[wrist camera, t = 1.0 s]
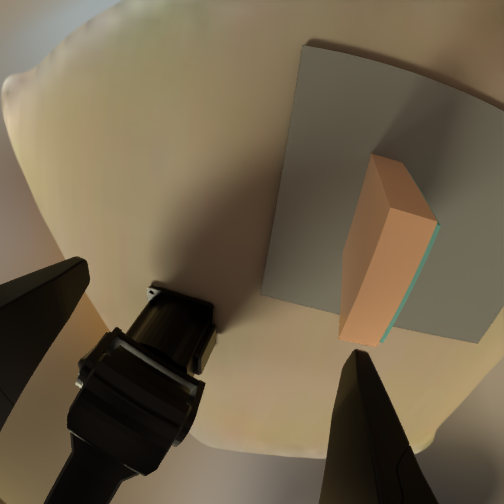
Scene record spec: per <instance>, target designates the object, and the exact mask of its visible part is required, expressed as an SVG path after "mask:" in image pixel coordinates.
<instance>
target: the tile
mask: <svg viewBox="0 0 504 504" xmlns="http://www.w3.org/2000/svg"><path fill="white" fill-rule="evenodd" d="M440 227H441V225H440V223H439V221H438V220H437V218H436V216H435V214H434V212H433V211H432V209H431V207H430V205H429V204H428V202H427V200H426V199H425V197H424V195H423V193H422V192H421V190H420V189H419V187H418V185H417V184H416V182H415V180H414V179H413V177H412V176H411V174H410V173H409V171H408V169H407V168H405V166H404V164H403V163H402V162H399V161H396V160H392V159H389V158H386V157H382V156H379V155H375V154H371V155H370V159H369V163H368V167H367V171H366V175H365V178H364V182H363V186H362V189H361V193H360V196H359V200H358V204H357V207H356V210H355V214H354V217H353V221H352V224H351V227H350V230H349V234H348V237H347V240H346V243H345V246H344V250H343V260H342V286H341V305H340V321H339V334H338V339H340V340H345V341H349V342H354V343H358V344H363V345H368V346H373V347H377V345H378V343H379V342H382V343H383V342H384V340H385V339H386V337H387V335H388V333H389V332H390V330H391V328H392V326H393V325H394V323H395V321H396V319H397V317H398V315H399V314H400V312H401V310H402V308H403V306H404V304H405V302H406V300H407V299H408V297H409V295H410V293H411V291H412V289H413V287H414V285H415V283H416V281H417V279H418V277H419V274H420V272H421V270H422V268H423V266H424V264H425V262H426V260H427V257H428V255H429V253H430V251H431V248H432V246H433V244H434V242H435V239H436V237H437V235H438V232H439V230H440Z"/></svg>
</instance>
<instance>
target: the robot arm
mask: <svg viewBox="0 0 504 504" xmlns="http://www.w3.org/2000/svg"><path fill="white" fill-rule="evenodd" d="M89 282H90V275H89V269H88V263H87V261H86V260H85V259H83V258H80V257H77V256H76V257H73V258H70V259H67V260H64V261H62V262H59V263H56V264H54V265H51V266H48V267H46V268H43V269H40V270H37V271H35V272H32V273H29V274H27V275H24V276H22V277H19V278H16V279H14V280H11V281H9V282H6V283H4V284H1V285H0V431H1V429H2V427H3V426H4V424H5V421H6V420H7V418H8V416H9V414H10V413H11V411H12V409H13V407H14V405H15V403H16V402H17V400H18V398H19V396H20V394H21V393H22V391H23V389H24V388H25V386H26V384H27V383H28V381H29V379H30V377H31V376H32V375H33V373H34V371H35V370H36V368H37V366H38V365H39V363H40V362H41V360H42V358H43V357H44V355H45V354H46V352H47V351H48V349H49V347H50V346H51V344H52V343H53V342H54V340H55V339H56V337H57V336H58V334H59V333H60V331H61V330H62V328H63V327H64V325H65V324H66V322H67V321H68V319H69V318H70V316H71V314H72V312H73V311H74V309H75V307H76V306H77V304H78V302H79V300H80V299H81V297H82V295H83V293H84V292H85V290H86V288H87V287H88V285H89ZM147 296H148V304H147V305H146V307H145V308H144V309H143V311H142V312H141V313H140V315H139V316H138V317H137V319H136V320H135V322H134V323H133V324H132V326H131V327H130V328H129V330H128V331H127V333H126V334H125V333H123V332H122V330H121V329H119V328H118V327H116V328H115V329H114V330H113V331H112V332H109V333H107V332H106V333H105V335H104V336H103V337H102V339H101V340H100V341H99V342H98V344H97V345H96V346H95V347H94V348H93V349H91V350H90V351H89V352H88V353H87V354H86V355H85V356H83V357H82V358H81V359H80V361H79V362H78V367H79V373H78V378H77V380H76V384H75V385H76V386H77V387H78V388H80V391H79V393H78V394H77V396H76V398H75V400H74V401H73V403H72V405H71V407H70V409H69V413H68V416H67V429H68V430H69V431H70V435H71V447H72V452H71V454H70V456H69V458H68V459H67V461H66V463H65V465H64V467H63V468H62V470H61V472H60V474H59V476H58V477H57V479H56V481H55V483H54V485H53V487H52V489H51V490H50V492H49V494H48V496H47V498H46V500H45V502H44V504H109V503H110V501H111V500H112V498H113V497H114V495H115V493H116V491H117V490H118V488H119V486H120V484H121V483H122V482H123V481H125V480H127V479H130V478H132V477H134V476H137V475H138V474H141V475H143V476H147V475H148V474H150V473H152V472H153V471H155V470H156V469H157V468H158V467H159V465H160V463H161V461H162V460H163V458H164V457H165V455H166V453H167V452H168V450H169V449H170V447H171V445H172V446H174V447H177V446H178V445H179V444H180V443H181V442H182V441H183V440H184V438H185V437H186V435H187V434H188V432H189V430H190V428H191V426H192V424H193V422H194V420H195V417H196V414H197V411H198V407H199V404H200V400H201V397H202V394H203V390H204V387H205V384H206V383H204V382H203V381H201V380H197V379H195V378H194V377H193V376H194V374H197V375H200V374H202V372H203V370H204V367H205V365H206V363H207V361H208V359H209V356H210V354H211V352H212V350H213V348H214V346H215V343H216V328H217V327H216V325H215V324H214V309H215V308H214V306H213V305H212V304H211V303H209V302H205V301H202V300H198V299H195V298H191V297H188V296H185V295H181V294H178V293H175V292H172V291H168V290H165V289H162V288H159V287H156V286H152V285H151V286H149V288H148V289H147ZM208 308H209V309H208ZM0 504H6V503H5V502H4V501H3V500H2V499H0ZM319 504H439V503H438V501H437V499H436V498H435V495H434V494H433V492H432V490H431V488H430V486H429V484H428V483H427V480H426V478H425V476H424V474H423V473H422V471H421V469H420V466H419V464H418V462H417V460H416V457H415V455H414V453H413V450H412V448H411V446H409V441H408V439H407V437H406V434H405V432H404V430H403V427H402V425H401V423H400V421H399V418H398V416H397V414H396V412H395V409H394V407H393V405H392V403H391V401H390V398H389V396H388V394H387V392H386V390H385V388H384V385H383V383H382V381H381V379H380V377H379V375H378V373H377V371H376V368H375V366H374V364H373V362H372V360H371V358H370V356H369V354H368V353H367V352H366V351H362V350H358V349H355V350H354V351H353V352H352V353H351V355H350V356H349V358H348V359H347V361H346V362H345V364H344V366H343V368H342V372H341V377H340V382H339V386H338V391H337V395H336V400H335V404H334V408H333V413H332V419H331V427H330V435H329V443H328V450H327V457H326V464H325V470H324V476H323V483H322V488H321V494H320V500H319Z"/></svg>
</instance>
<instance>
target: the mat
mask: <svg viewBox="0 0 504 504" xmlns="http://www.w3.org/2000/svg"><path fill="white" fill-rule="evenodd" d="M371 154H375V155H379V156H382V157H386V158H389V159H392V160H396V161H399V162H402V163H403V164H404V166H405V168H407V169H408V171H409V173H410V174H411V176H412V177H413V179H414V180H415V182H416V184H417V185H418V187H419V189H420V190H421V192H422V193H423V195H424V197H425V199H426V200H427V202H428V204H429V205H430V207H431V209H432V211H433V212H434V214H435V216H436V218H437V220H438V221H439V223H440V225H441V227H440V230H439V232H438V235H437V237H436V239H435V242H434V244H433V246H432V248H431V251H430V253H429V255H428V257H427V260H426V262H425V264H424V266H423V268H422V270H421V272H420V274H419V277H418V279H417V281H416V283H415V285H414V287H413V289H412V291H411V293H410V295H409V297H408V299H407V300H406V302H405V304H404V306H403V308H402V310H401V312H400V314H399V315H398V317H397V319H396V321H395V323H394V325H393V327H397V328H402V329H407V330H412V331H416V332H421V333H426V334H431V335H436V336H441V337H446V338H451V339H456V340H461V341H466V342H472V343H477V344H478V342H479V341H480V340H481V338H482V337H483V335H484V334H485V333H486V331H487V330H488V328H489V327H490V326H491V324H492V323H493V321H494V320H495V318H496V317H497V315H498V314H499V312H500V311H501V309H502V308H503V306H504V111H502V110H500V109H499V108H497V107H495V106H493V105H491V104H489V103H486V102H484V101H482V100H480V99H478V98H476V97H474V96H472V95H469V94H467V93H465V92H462V91H460V90H458V89H455V88H453V87H451V86H448V85H446V84H443V83H441V82H438V81H435V80H433V79H430V78H427V77H425V76H422V75H419V74H416V73H413V72H410V71H407V70H404V69H401V68H398V67H394V66H391V65H388V64H384V63H381V62H377V61H374V60H370V59H366V58H362V57H358V56H354V55H350V54H346V53H341V52H337V51H332V50H327V49H322V48H316V47H311V46H305V45H302V52H301V58H300V65H299V71H298V77H297V84H296V90H295V96H294V103H293V109H292V115H291V121H290V127H289V133H288V139H287V145H286V151H285V157H284V163H283V169H282V175H281V181H280V187H279V193H278V199H277V204H276V210H275V216H274V221H273V227H272V233H271V238H270V244H269V250H268V255H267V261H266V266H265V272H264V277H263V283H262V288H261V294H260V295H263V296H267V297H271V298H274V299H278V300H282V301H286V302H290V303H294V304H298V305H302V306H306V307H311V308H315V309H319V310H323V311H327V312H331V313H335V314H340V305H341V286H342V260H343V250H344V246H345V243H346V240H347V237H348V234H349V230H350V227H351V224H352V221H353V217H354V214H355V210H356V207H357V204H358V200H359V196H360V193H361V189H362V186H363V182H364V178H365V175H366V171H367V167H368V163H369V159H370V155H371Z"/></svg>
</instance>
